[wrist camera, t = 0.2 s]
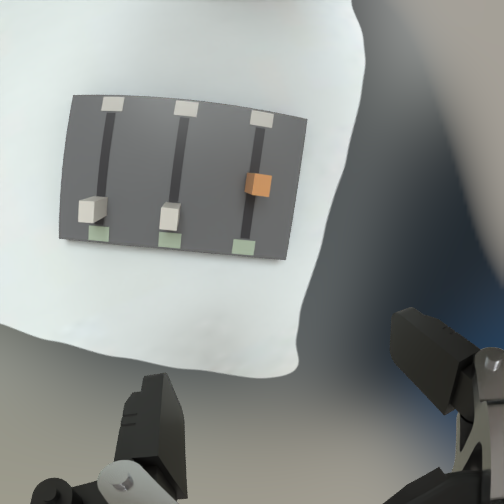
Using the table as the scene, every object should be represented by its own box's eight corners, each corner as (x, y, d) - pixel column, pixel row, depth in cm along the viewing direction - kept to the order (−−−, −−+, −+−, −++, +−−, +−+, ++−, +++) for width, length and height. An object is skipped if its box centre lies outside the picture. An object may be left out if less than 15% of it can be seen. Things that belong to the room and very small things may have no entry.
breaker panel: (80, 99, 29) (56, 85, 22) (300, 122, 35) (324, 112, 28) (66, 234, 33) (41, 249, 26) (280, 254, 38) (299, 273, 31)
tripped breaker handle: (247, 172, 32) (254, 173, 28) (262, 174, 33) (272, 175, 29) (244, 191, 33) (251, 194, 29) (259, 193, 33) (268, 197, 29)
